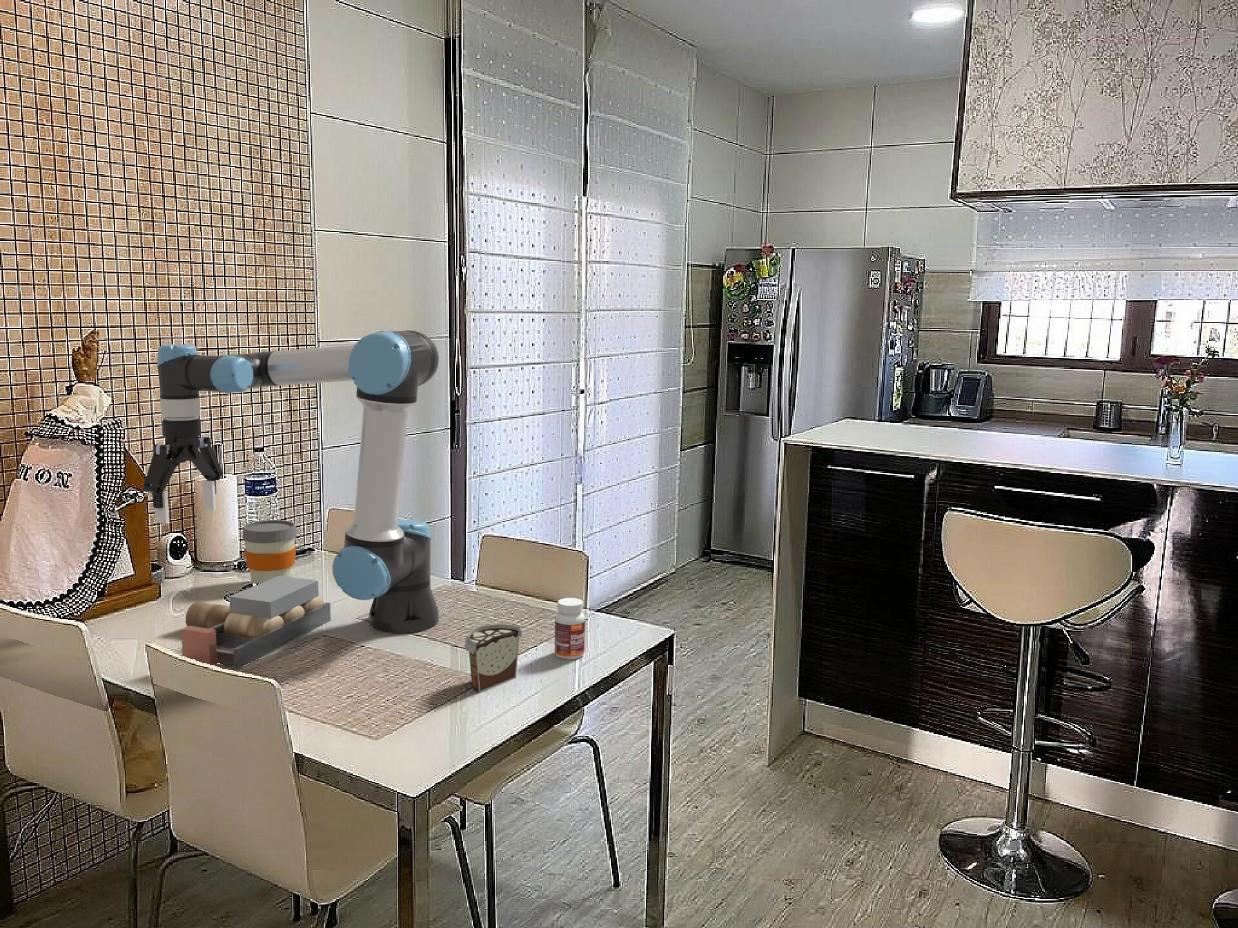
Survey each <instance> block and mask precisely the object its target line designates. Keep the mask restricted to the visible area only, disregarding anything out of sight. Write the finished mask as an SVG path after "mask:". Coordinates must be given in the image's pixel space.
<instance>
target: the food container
mask: <svg viewBox="0 0 1238 928" xmlns="http://www.w3.org/2000/svg"><path fill="white" fill-rule="evenodd" d="M520 637H523V634H522V629H521V626H519V625H514V624H506V623H504V624H503V623H499V624H498V623H495V624H487V625H481V626H478V627H475V628H472V629H471V630H470V631H469V632H468V633H467V636H466V638H465V643H464V648H465V650H466V651H467V652H468V657H469V666H470V667H469V668H470V669H469V670H470V679H471V680H470V681H471V687H472V689H473V690H474V692H476V693H478V694H480V693H483V692H485V691H488V690H490V689H492V688H495V687H497V686H500V685H502V684H505V683H507V682H509V681H512V680H515V679H516V678H517V670H518V669H517V668H518V659H519V658H518V656H519V647H520Z"/></svg>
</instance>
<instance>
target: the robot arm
mask: <svg viewBox="0 0 1238 928" xmlns="http://www.w3.org/2000/svg"><path fill="white" fill-rule="evenodd" d="M197 350H198V349H197V347H196V346H195V345H194V344H182V343H181V344H162V345H161V346H159V347H158V349H157V363H156V364H157V365H156V367H157V375H158V382H159V393H160V394H159V396H160V397H159V400H160V415H161V417H162V418H164V419H162V420H161V431H162V433H161V435H162V437H164V439H165V444H158V443H155V444H153V446H152V457H151V461H150V464H149V467H148V471H147V474H146V477H145V480H144V482H143V483H144V484H143V485H142V490H143V491H144V492H148V493H151V494H152V495H151V496H152V507H153V508H154V509H155V512H154V513H155V523H156V524H170V513H169V499H168V492H165V490H166V487H167V486H168V484H169V482H170V480H171V478H172V476H173V474H174V472H175V470H176V469H177V467H179V466H180V464H183V463H186V462H191V464H193V465H194V467H195V468H196V469H197V470H198V471H199V473H200V474H201V475H202V476H203V478H204V479H203V480H201V483H202V484H201V485H202V500H203V501H202V502H203V510H205V511H216V510H217V501H216V500H217V499H216V495H217V481H220V480H221V477H222V476H223V475H224V472H223V469H222V467H221V465H220V463H219V461H218V458H217V456H216V453H215V452H214V450H213V447H212V442H211V440H212V439H211V437H209V436H201V435H202V423H201V422H202V420H201V419H200V418H198V417H200V416H201V401H200V392H215V393H225V394H233V393H234V394H236V393H244V392H246V391H247V389H253V388H266V387H279V386H289V385H292V386H293V385H306V384H320V383H322V384H323V383H334V382H335V383H337V382H349V381H350V382H351V381H353V383H354V385H355V386H356V395H355V396H356V399H357V400H358V401H359V403H361V405H362V407H363V410H362V421H361V422H362V423H361V434H360V435H361V436H360V444H359V445H360V446H359V447H360V448H359V458H358V471H357V481H356V482H357V483H356V491H355V492H356V493H355V494H356V495H355V506H354V509H355V510H354V519H353V522H352V523H351V524H350V525H348V526H347V527H346V528H345V531H344V532H345V533H344V546H343V548H342V549H340V551H338V553H337V554H336V555H335V556H334V559H333V562H332V565H331V566H332V575H333V578H334V580H335V583H336V584H337V586H338V587H339V588H340V589H341V590H342V592H343V593H344V594H345V595H347V596H348V597H351V598H352V599H355V600H359V601H370V600H372V603H371V605H370V609H369V611H368V612H369V613H368V625H369V626H370V627H371V628H372V629H374V630H375V631H380V632H384V633H391V634H406V633H407V634H409V633H415V632H421V631H424V630H428V629H430V628H433V627H434V626H436V625H437V624H438V623H439V620H440V617H439V616H440V614H439V613H440V611H439V608H438V605H437V602H436V599H435V596H434V593H433V590H432V587H431V540H432V536H431V531H430V530H431V529H430V526H429V524H428V523H427V522H426V521H421V520H417V519H405V518H404V519H401V518H399V510H400V500H401V499H400V498H401V488H402V477H403V468H404V456H405V446H406V445H405V444H406V437H407V435H406V433H407V425H408V424H407V422H408V413H409V411H410V409H411V408H412V407H414V406H415V405H416V404H417V401H418V400H417V399H418V389H419V388H418V387H421V386H423V385H425V384H426V383H428V382H429V381H431V379H432V378H433V377H434V376H435V375H436V372H437V370H438V367H439V363H440V356H439V351H438V349H437V346H436V345H435V343H434V342H433V340H432V339H431V338H429V337H428V336H427V335H425V334H424V333H422V332H420V331H416V330H410V329H409V330H380V331H376V332H372V333H370V334H367V335H365V336H363V337H361V338H360V339H359V340H357V342H355V344H351V345H350V344H349V345H336V346H335V345H333V346H326V347H325V346H324V347H312V348H300V349H289V350H288V349H287V350H277V351H261V352H260V351H257V352H250V353H240V354H239V353H238V354H225V355H224V354H223V355H202V354H198V351H197Z"/></svg>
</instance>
